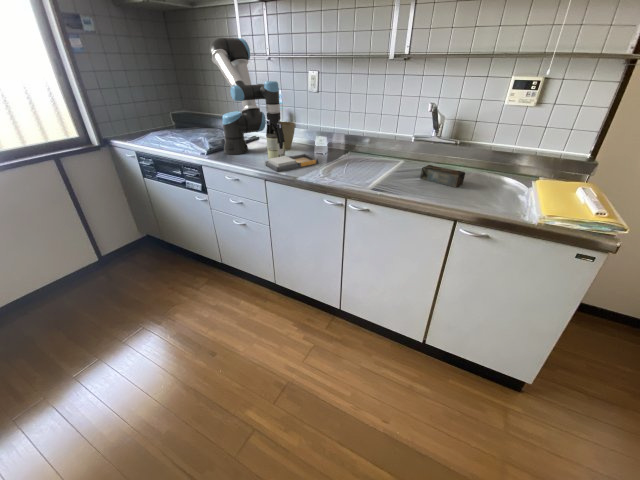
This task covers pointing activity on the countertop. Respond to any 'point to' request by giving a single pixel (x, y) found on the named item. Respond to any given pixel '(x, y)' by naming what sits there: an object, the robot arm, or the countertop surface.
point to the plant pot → (288, 133)
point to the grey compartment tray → (290, 162)
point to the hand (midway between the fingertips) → (276, 152)
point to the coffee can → (273, 146)
